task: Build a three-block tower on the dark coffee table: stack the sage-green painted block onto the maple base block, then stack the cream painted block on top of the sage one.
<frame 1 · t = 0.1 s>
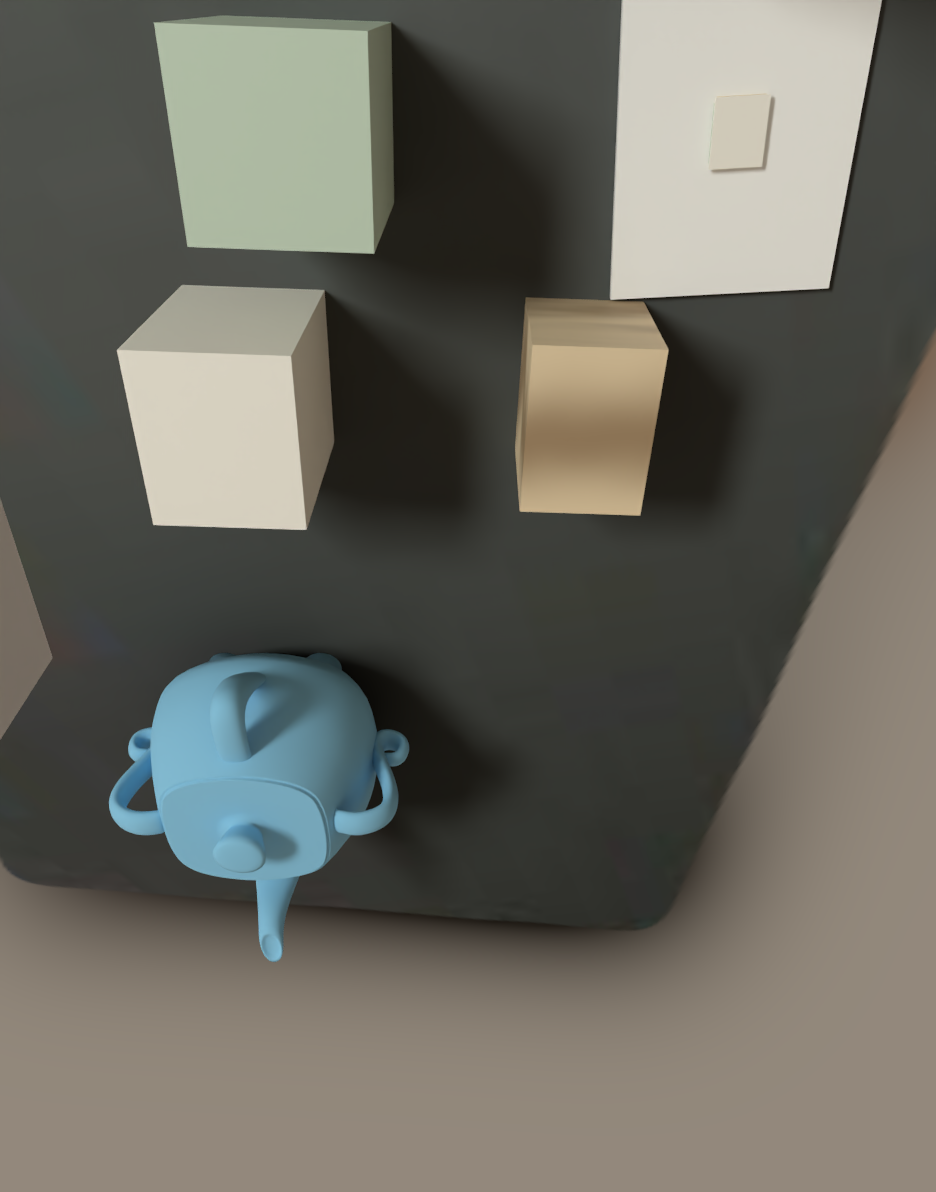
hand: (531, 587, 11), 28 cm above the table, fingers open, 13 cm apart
sage block: (313, 114, 32), on the table
instruction page: (735, 130, 32), on the table
teapot: (284, 711, 50), on the table
cream block: (262, 367, 38), on the table
maple base block: (575, 378, 38), on the table
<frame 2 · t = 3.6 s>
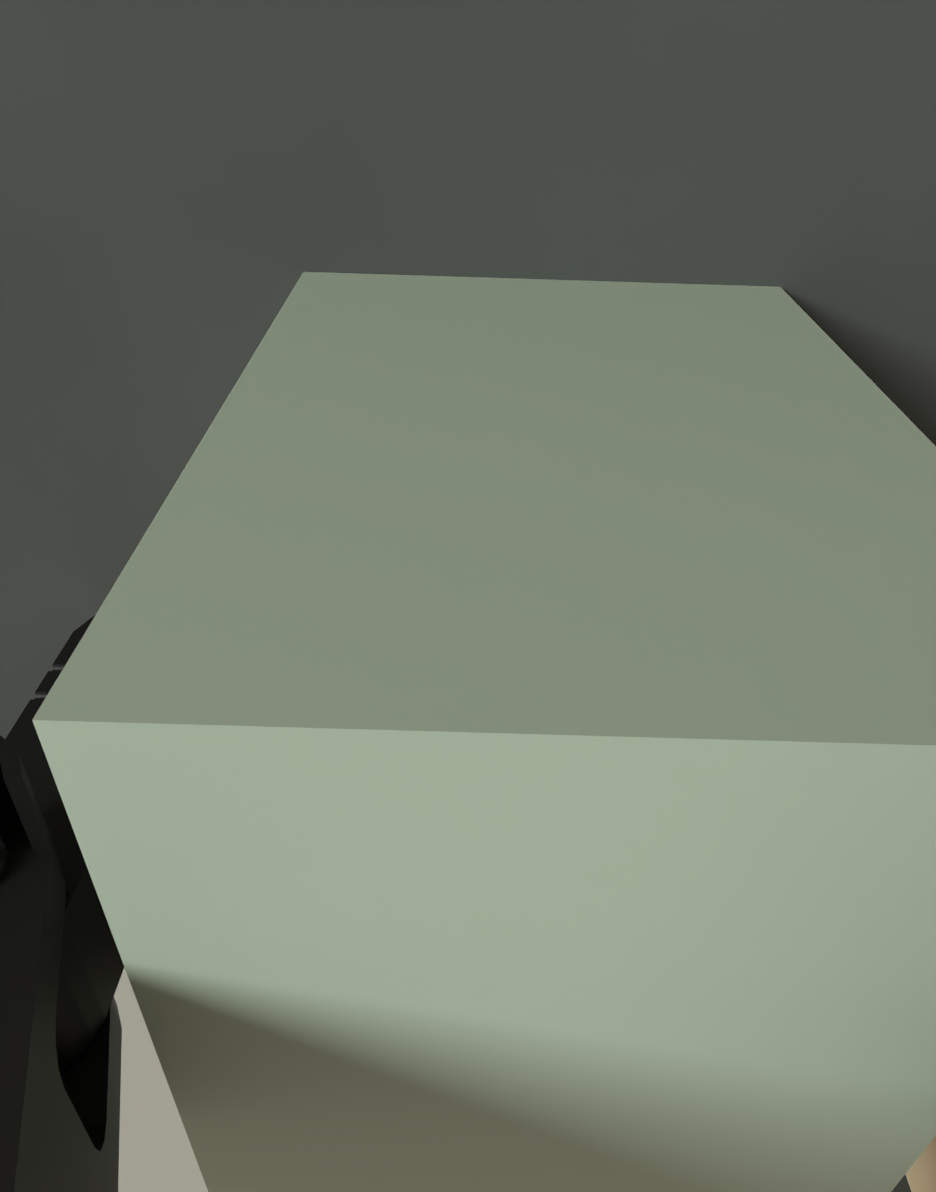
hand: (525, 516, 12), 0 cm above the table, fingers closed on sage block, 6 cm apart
sage block: (526, 490, 13), on the table, touching gripper
cream block: (354, 896, 18), on the table
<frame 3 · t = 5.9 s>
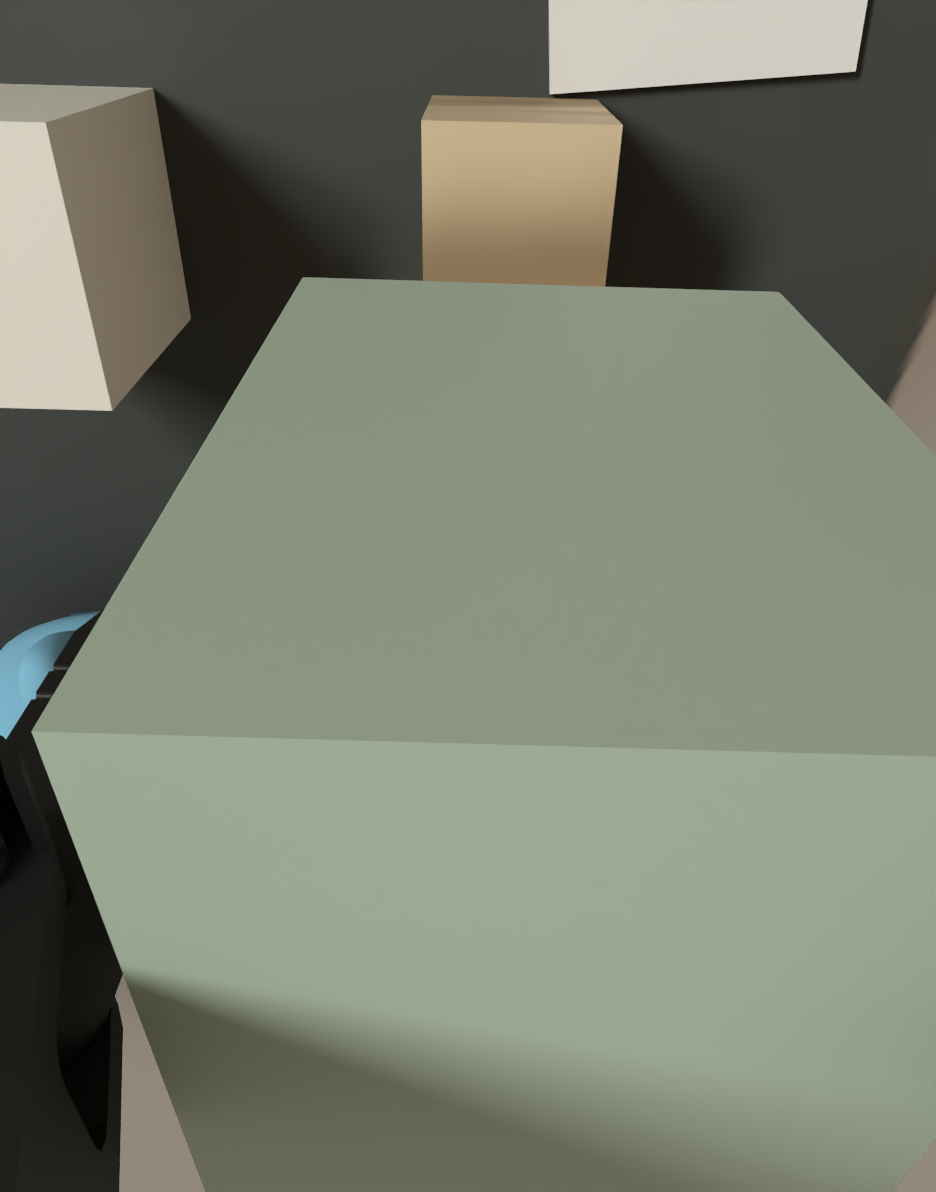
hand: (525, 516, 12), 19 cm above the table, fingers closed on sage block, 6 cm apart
sage block: (525, 494, 13), point 19 cm above the table, touching gripper
teapot: (169, 686, 40), on the table
cream block: (82, 209, 28), on the table
maple base block: (508, 219, 28), on the table
when the fingers open (7 cm above the table, at t = 8.4 s): sage block drops 1 cm, resting on maple base block.
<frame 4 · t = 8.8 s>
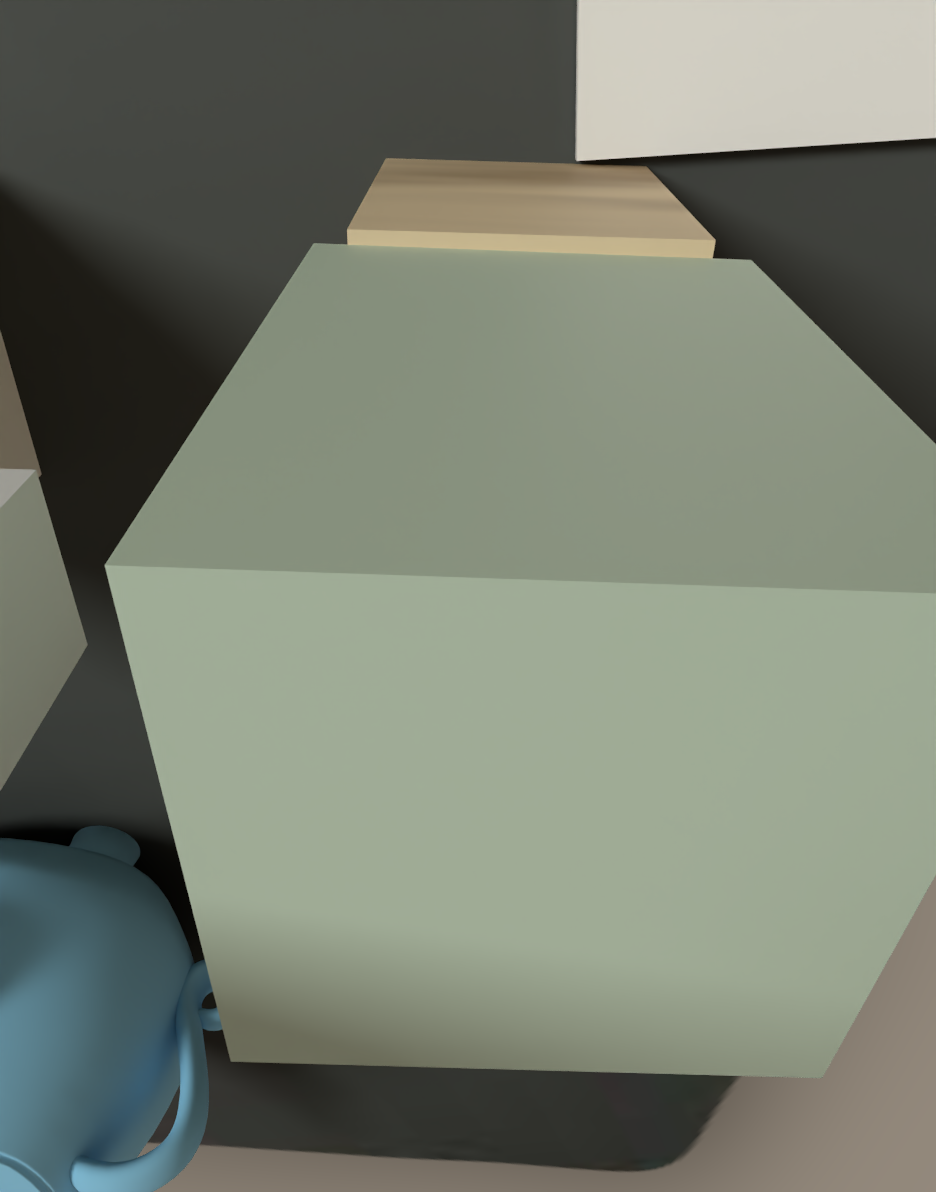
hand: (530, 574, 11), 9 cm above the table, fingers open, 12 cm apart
sage block: (518, 451, 13), point 6 cm above the table, touching maple base block
teapot: (59, 905, 31), on the table
maple base block: (506, 341, 19), on the table, touching sage block
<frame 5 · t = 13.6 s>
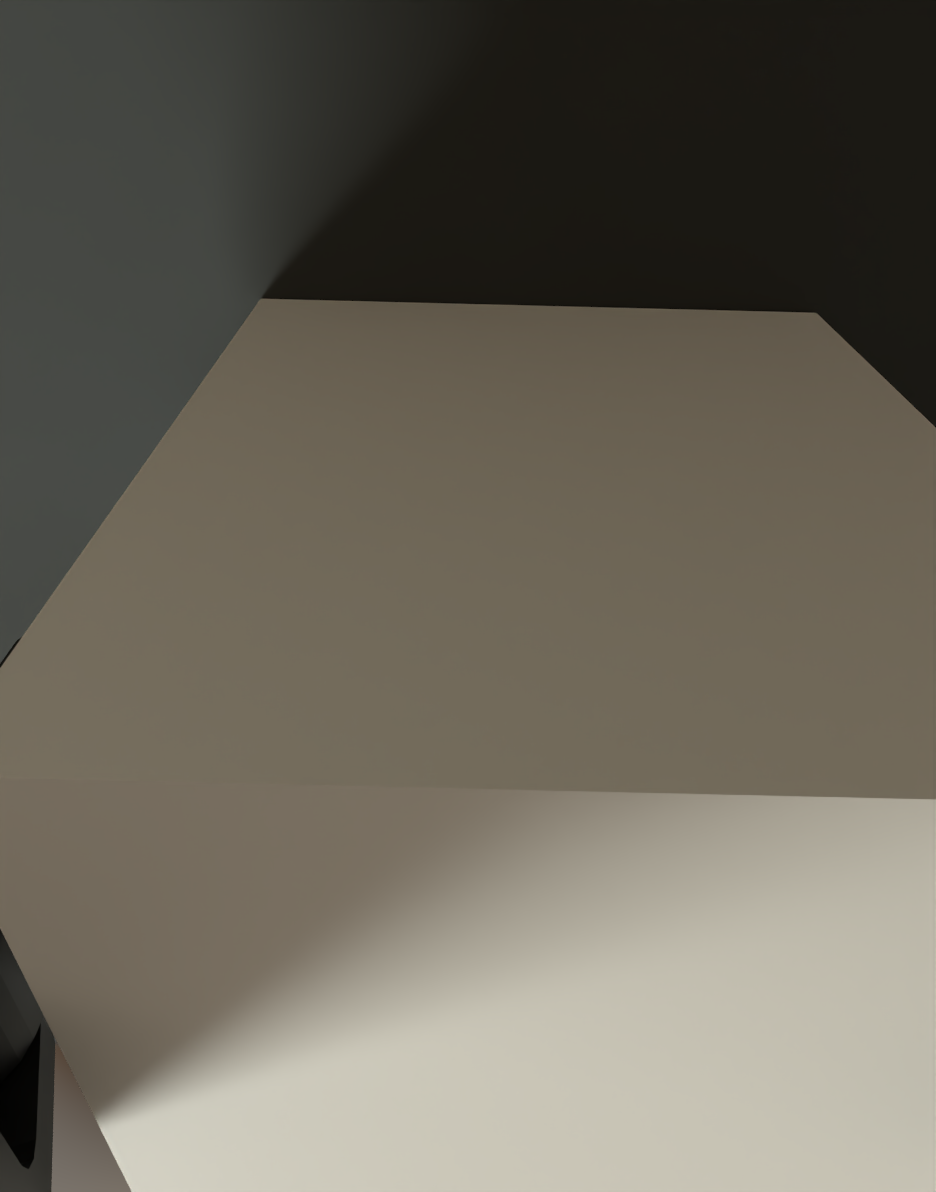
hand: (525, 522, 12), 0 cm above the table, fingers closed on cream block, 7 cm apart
cream block: (524, 513, 13), on the table, touching gripper
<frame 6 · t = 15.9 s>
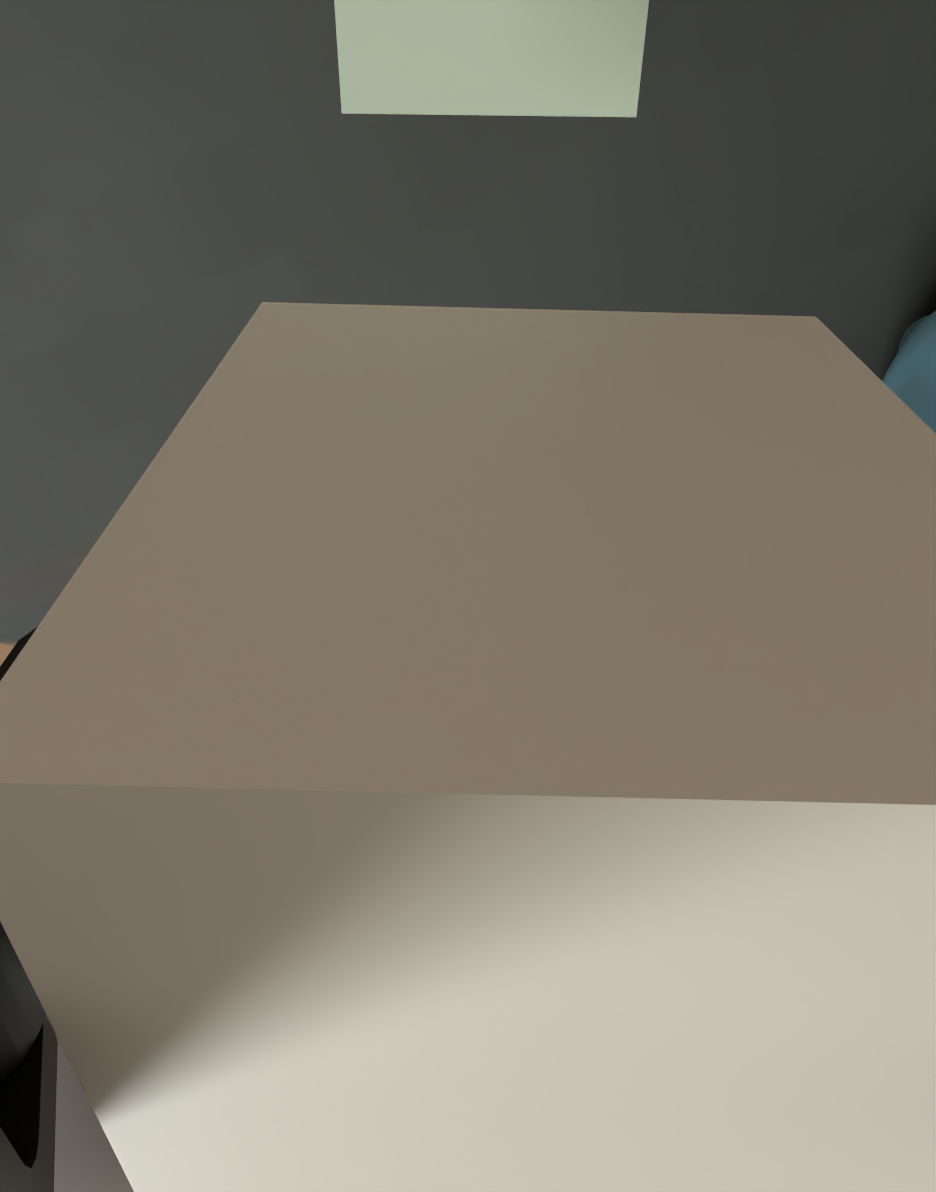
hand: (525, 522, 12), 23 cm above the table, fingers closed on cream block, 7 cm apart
cream block: (524, 515, 13), point 23 cm above the table, touching gripper
when the fingers open (16 cm above the table, at t = 18.1 s): cream block drops 1 cm, resting on sage block.
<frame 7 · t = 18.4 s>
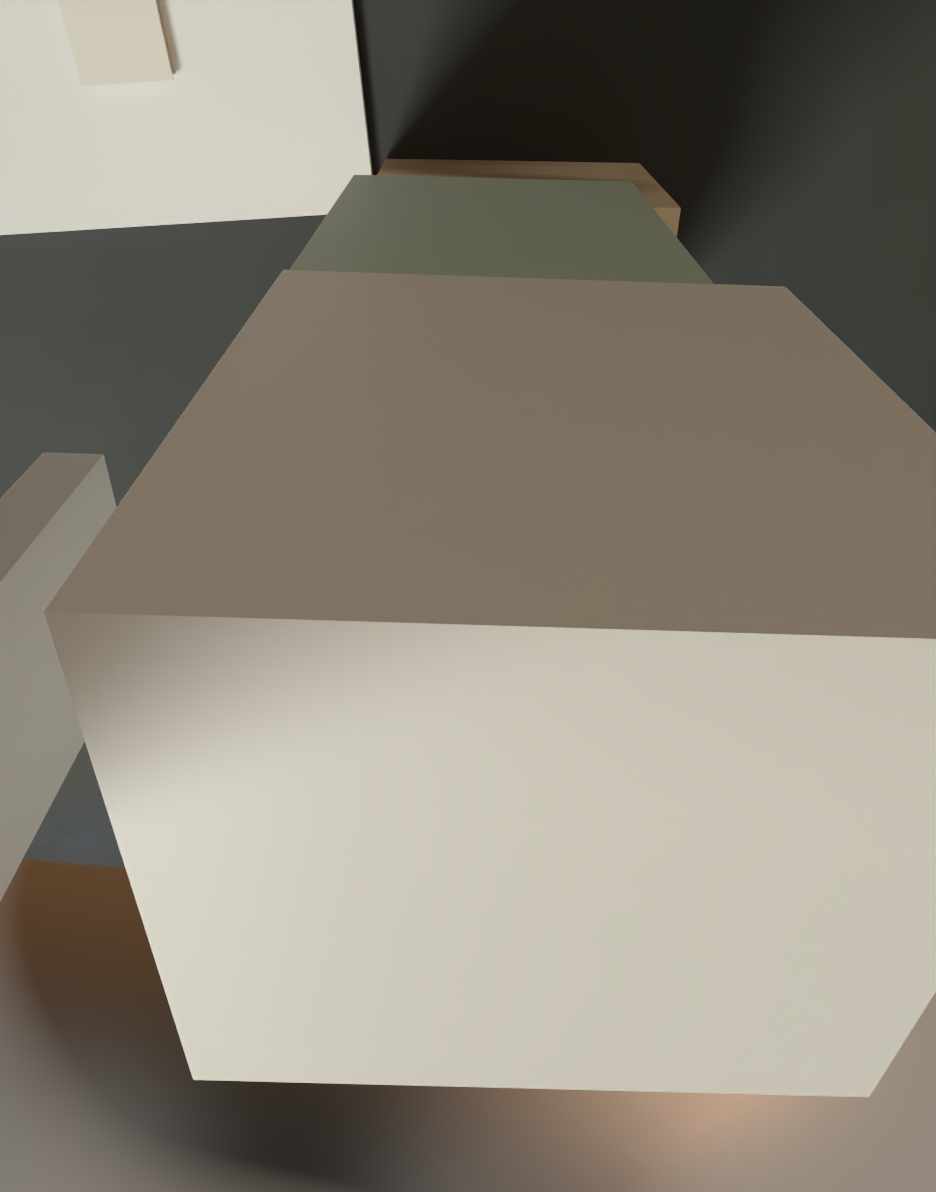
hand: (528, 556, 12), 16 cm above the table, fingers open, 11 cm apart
sage block: (488, 317, 20), point 6 cm above the table, touching cream block, maple base block
instruction page: (123, 35, 22), on the table
cream block: (520, 472, 14), point 14 cm above the table, touching sage block
maple base block: (508, 255, 25), on the table, touching sage block
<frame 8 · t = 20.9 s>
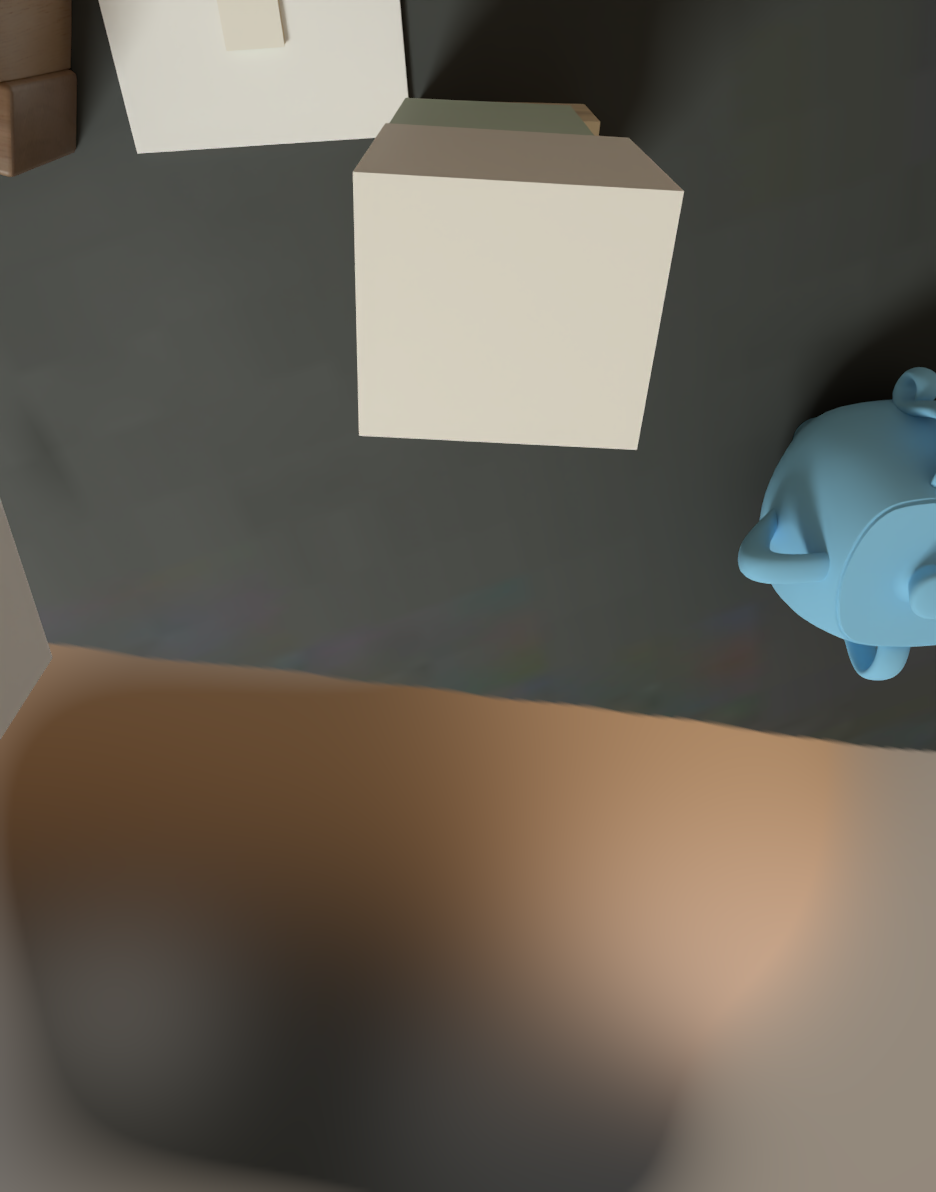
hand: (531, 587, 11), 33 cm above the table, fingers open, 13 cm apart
sage block: (483, 191, 33), point 6 cm above the table, touching cream block, maple base block
instruction page: (253, 18, 35), on the table
teapot: (867, 479, 47), on the table
cream block: (499, 240, 26), point 14 cm above the table, touching sage block
maple base block: (499, 166, 38), on the table, touching sage block
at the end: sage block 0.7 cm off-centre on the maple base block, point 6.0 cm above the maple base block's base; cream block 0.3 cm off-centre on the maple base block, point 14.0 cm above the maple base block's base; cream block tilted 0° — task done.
